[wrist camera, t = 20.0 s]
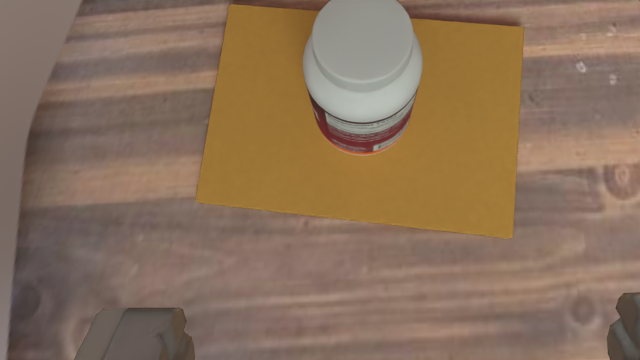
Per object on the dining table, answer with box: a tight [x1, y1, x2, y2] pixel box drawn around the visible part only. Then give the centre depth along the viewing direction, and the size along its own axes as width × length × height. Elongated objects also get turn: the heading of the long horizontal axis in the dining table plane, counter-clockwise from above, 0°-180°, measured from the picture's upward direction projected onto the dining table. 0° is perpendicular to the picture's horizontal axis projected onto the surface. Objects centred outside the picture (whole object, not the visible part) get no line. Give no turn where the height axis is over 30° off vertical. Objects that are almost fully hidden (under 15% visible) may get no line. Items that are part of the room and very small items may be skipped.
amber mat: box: [195, 4, 524, 239], centre depth 36 cm, size 20×14×1 cm
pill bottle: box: [303, 0, 423, 156], centre depth 30 cm, size 6×6×11 cm
